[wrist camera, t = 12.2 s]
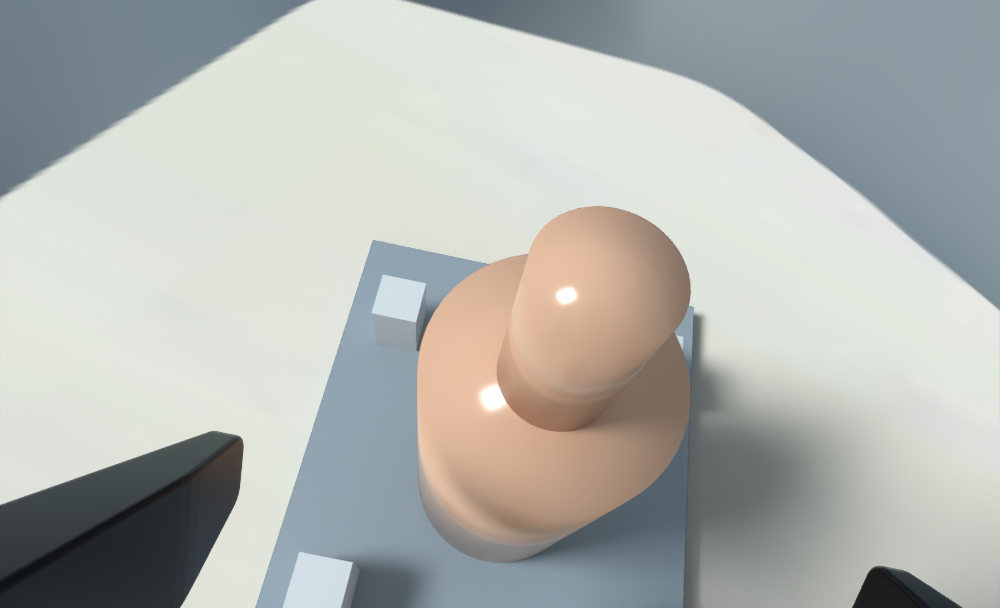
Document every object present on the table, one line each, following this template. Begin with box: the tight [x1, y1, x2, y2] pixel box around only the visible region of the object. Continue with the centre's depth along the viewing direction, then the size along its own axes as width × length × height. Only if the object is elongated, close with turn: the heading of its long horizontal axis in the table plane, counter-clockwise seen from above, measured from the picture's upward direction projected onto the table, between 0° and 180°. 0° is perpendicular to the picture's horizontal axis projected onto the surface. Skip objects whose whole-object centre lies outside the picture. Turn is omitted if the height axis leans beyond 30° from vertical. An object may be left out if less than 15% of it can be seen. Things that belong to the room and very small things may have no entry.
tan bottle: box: [417, 206, 691, 563], centre depth 15 cm, size 6×6×14 cm
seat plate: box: [255, 240, 694, 608], centre depth 21 cm, size 16×13×3 cm
